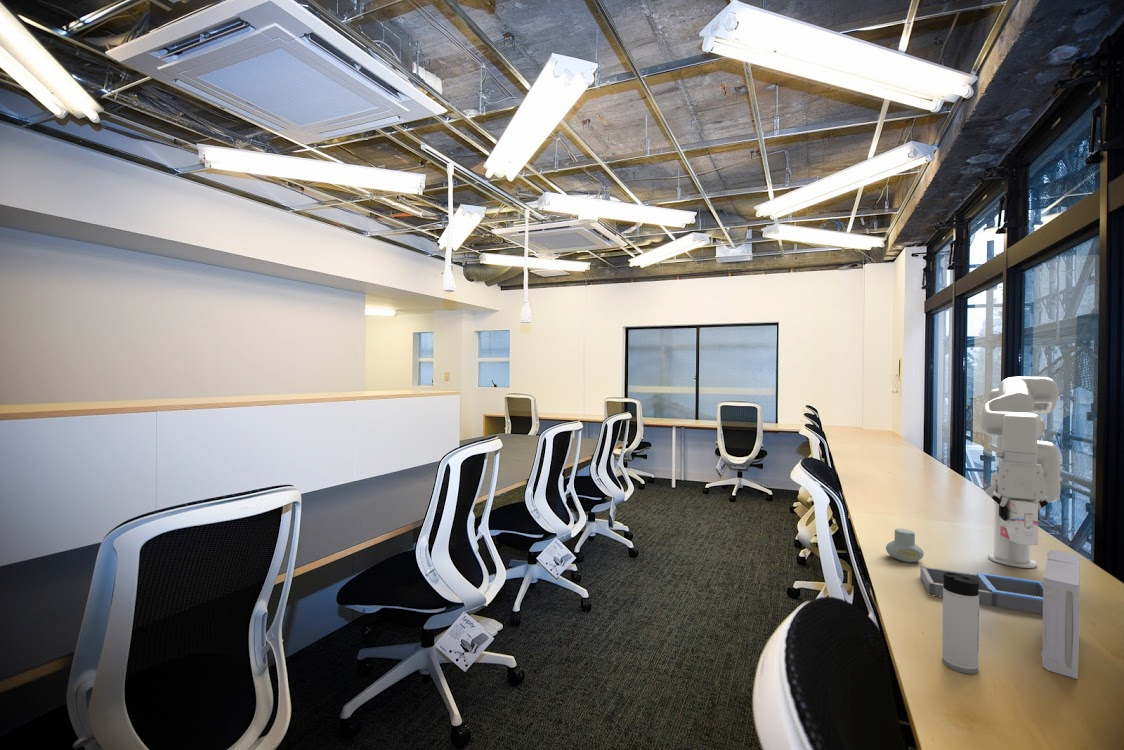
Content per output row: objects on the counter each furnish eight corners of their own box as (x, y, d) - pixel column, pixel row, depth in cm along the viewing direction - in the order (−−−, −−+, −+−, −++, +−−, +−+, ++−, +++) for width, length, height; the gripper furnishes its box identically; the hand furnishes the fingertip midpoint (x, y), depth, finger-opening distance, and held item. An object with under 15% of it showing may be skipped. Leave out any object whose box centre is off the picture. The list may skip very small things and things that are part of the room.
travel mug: (933, 659, 116) (934, 570, 116) (960, 658, 116) (961, 569, 116) (957, 675, 109) (958, 581, 109) (986, 674, 110) (987, 580, 110)
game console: (1040, 668, 112) (1041, 577, 112) (1046, 627, 131) (1047, 549, 131) (1078, 680, 108) (1079, 585, 108) (1079, 635, 127) (1080, 554, 127)
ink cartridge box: (998, 535, 152) (999, 485, 151) (1018, 536, 150) (1019, 485, 150) (1018, 544, 143) (1018, 491, 143) (1039, 545, 142) (1039, 492, 142)
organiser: (920, 576, 164) (920, 563, 164) (1043, 595, 150) (1043, 581, 150) (929, 595, 150) (929, 581, 150) (1066, 618, 136) (1066, 602, 136)
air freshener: (918, 557, 182) (918, 528, 182) (927, 565, 174) (927, 535, 174) (882, 553, 185) (883, 525, 185) (890, 561, 177) (890, 532, 177)
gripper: (984, 457, 147) (984, 520, 147) (1065, 462, 140) (1064, 529, 140) (977, 453, 154) (977, 514, 154) (1053, 458, 146) (1053, 522, 146)
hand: (1018, 520), depth 147 cm, fingers closed on ink cartridge box, 5 cm apart
